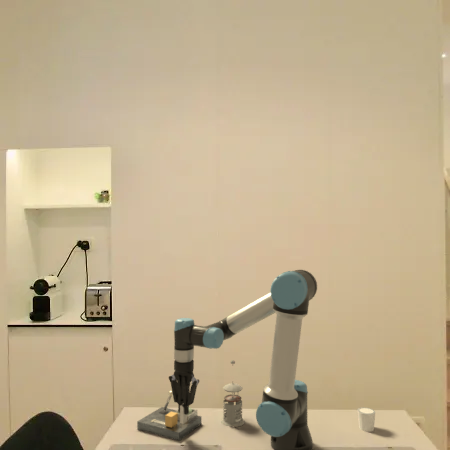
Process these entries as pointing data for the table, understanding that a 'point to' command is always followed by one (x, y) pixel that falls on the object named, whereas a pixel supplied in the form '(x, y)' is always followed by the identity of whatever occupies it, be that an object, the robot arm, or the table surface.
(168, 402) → the toggle lever
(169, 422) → the yellow cube
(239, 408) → the french press
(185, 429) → the panel
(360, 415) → the white cylinder
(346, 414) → the table surface
